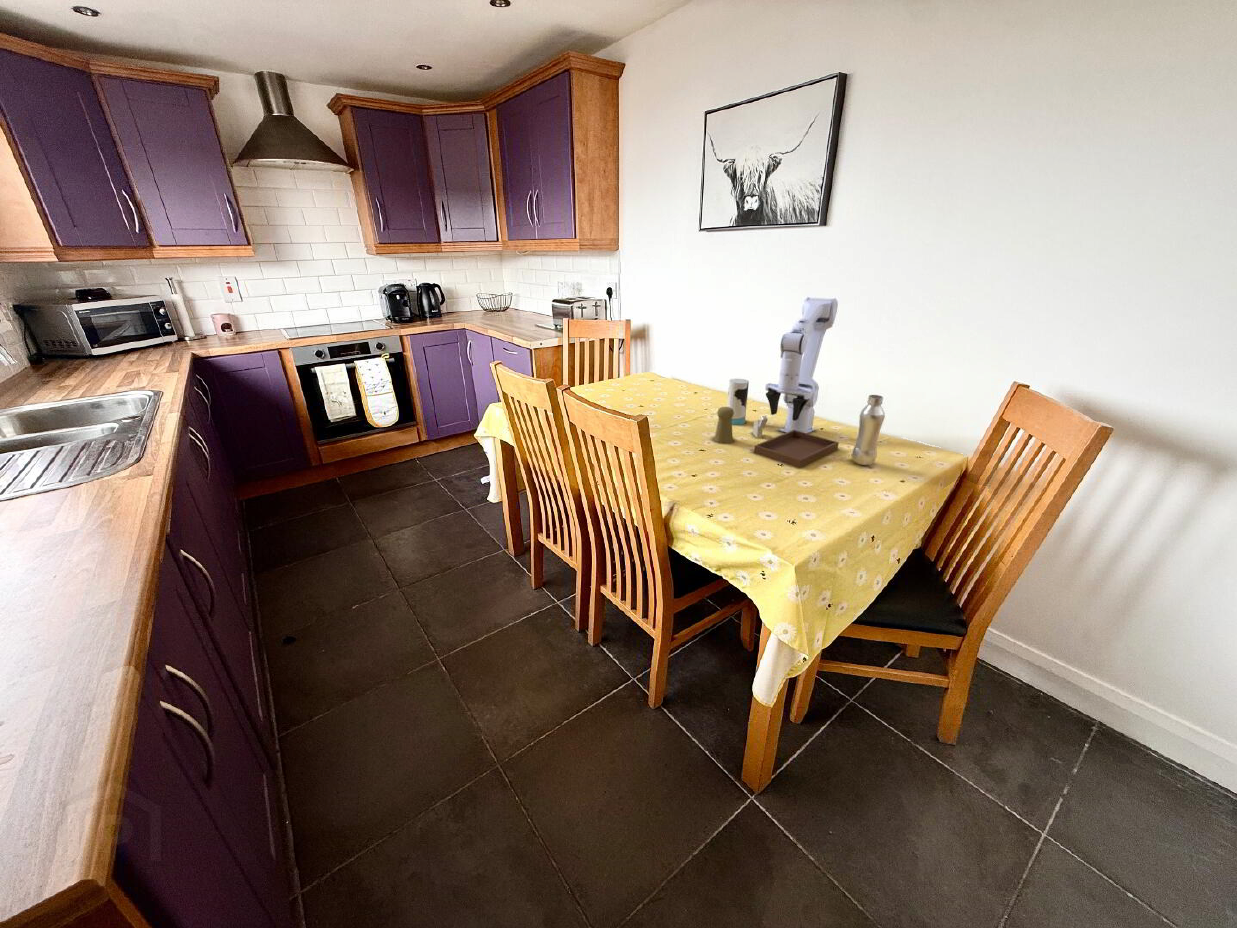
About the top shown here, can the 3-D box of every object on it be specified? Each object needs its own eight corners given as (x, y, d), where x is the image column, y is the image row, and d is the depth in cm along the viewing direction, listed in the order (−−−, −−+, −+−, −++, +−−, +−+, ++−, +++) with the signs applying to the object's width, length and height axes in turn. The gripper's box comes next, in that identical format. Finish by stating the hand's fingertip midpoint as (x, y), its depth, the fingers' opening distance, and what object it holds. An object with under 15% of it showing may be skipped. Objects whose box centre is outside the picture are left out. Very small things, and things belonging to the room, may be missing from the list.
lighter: (752, 433, 169) (755, 410, 166) (757, 433, 169) (760, 410, 166) (760, 440, 163) (762, 417, 160) (765, 440, 163) (767, 417, 160)
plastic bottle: (873, 460, 147) (887, 394, 139) (876, 469, 141) (890, 400, 133) (849, 457, 149) (861, 392, 141) (851, 466, 143) (864, 398, 135)
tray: (792, 436, 166) (793, 429, 165) (837, 449, 155) (838, 442, 154) (753, 452, 154) (754, 445, 153) (799, 468, 143) (800, 460, 142)
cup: (748, 423, 178) (752, 382, 172) (730, 425, 177) (734, 384, 171) (740, 418, 184) (743, 378, 178) (723, 419, 183) (726, 379, 177)
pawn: (731, 437, 166) (734, 405, 162) (733, 443, 161) (736, 410, 156) (713, 436, 167) (715, 404, 163) (714, 443, 161) (717, 410, 157)
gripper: (761, 371, 153) (757, 414, 158) (804, 380, 143) (798, 425, 148) (774, 368, 157) (770, 409, 162) (817, 376, 147) (810, 420, 152)
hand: (784, 416), depth 155 cm, fingers open, 7 cm apart
